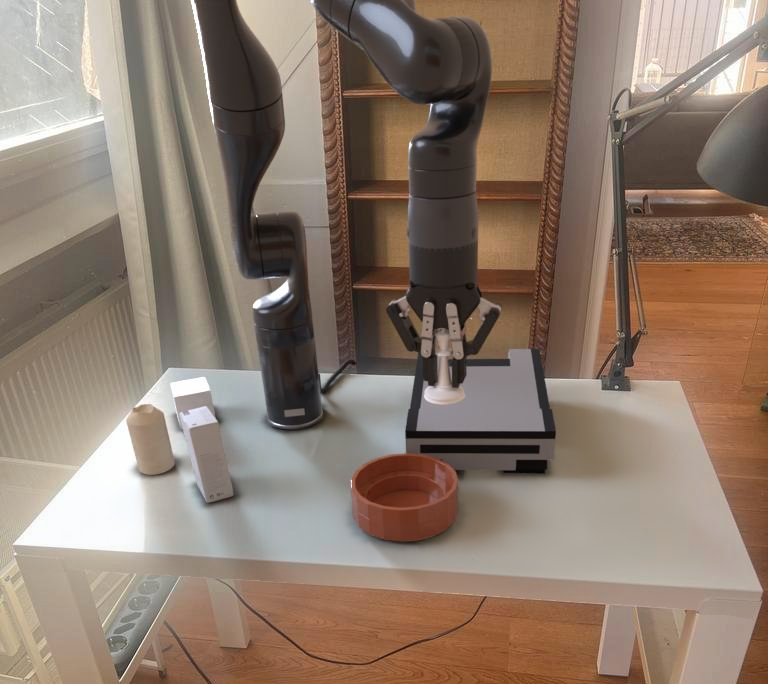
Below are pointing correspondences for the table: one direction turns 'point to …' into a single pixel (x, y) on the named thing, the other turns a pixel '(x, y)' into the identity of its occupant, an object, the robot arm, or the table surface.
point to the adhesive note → (191, 396)
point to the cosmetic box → (207, 453)
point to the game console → (487, 417)
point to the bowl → (405, 497)
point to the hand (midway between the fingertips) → (444, 383)
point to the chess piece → (443, 375)
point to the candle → (150, 439)
